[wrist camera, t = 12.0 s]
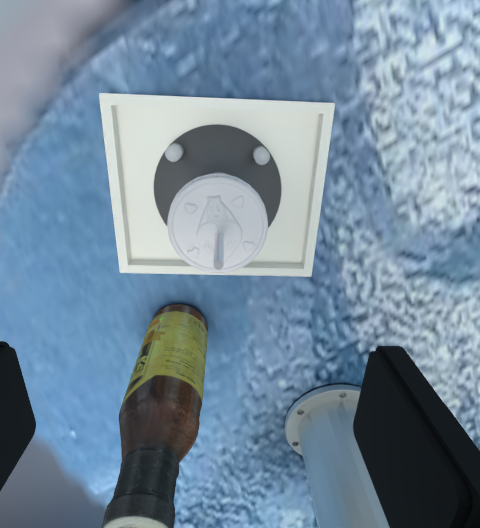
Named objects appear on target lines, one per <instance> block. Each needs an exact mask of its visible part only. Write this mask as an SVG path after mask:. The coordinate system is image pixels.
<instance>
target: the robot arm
mask: <svg viewBox="0 0 480 528" xmlns="http://www.w3.org/2000/svg"><path fill="white" fill-rule="evenodd" d="M35 428H36V421H35V418H34V414H33V411H32V407H31V404H30V400H29V397H28V393H27V390H26V386H25V383H24V379H23V376H22V372H21V369H20V365H19V361H18V358H17V354H16V351H15V349H14V348H12V347H10V346H9V344H8V343H6V342H3V341H0V491H1V489H2V487H3V486H4V484H5V482H6V481H7V479H8V477H9V476H10V474H11V472H12V471H13V469H14V467H15V466H16V464H17V462H18V461H19V459H20V457H21V456H22V454H23V452H24V451H25V449H26V447H27V445H28V444H29V442H30V441H31V439H32V437H33V435H34V432H35ZM285 434H286V438H287V441H288V443H289V445H290V446H291V447H292V449H293V450H295V451H296V452H297V453H298V454H300V455H302V456H303V459H304V464H305V469H306V473H307V478H308V483H309V487H310V492H311V497H312V501H313V506H314V511H315V515H316V520H317V524H318V528H480V451H479V449H478V448H477V447H476V445H475V444H474V443H473V441H472V440H471V439H470V437H469V436H468V435H467V433H466V432H465V430H464V429H463V428H462V426H461V425H460V424H459V422H458V421H457V420H456V418H455V417H454V415H453V414H452V413H451V411H450V410H449V409H448V407H447V406H446V405H445V404H444V403H443V402H442V400H441V399H440V397H439V396H438V395H437V393H436V392H435V391H434V389H433V388H432V387H431V385H430V384H429V382H428V381H427V380H426V378H425V377H424V376H423V374H422V373H421V372H420V370H419V369H418V367H417V366H416V365H415V363H414V362H413V361H412V359H411V358H410V357H409V355H408V354H407V352H406V351H405V350H404V349H403V348H402V347H400V346H378V347H377V348H376V351H372V352H371V353H370V355H369V358H368V362H367V367H366V371H365V375H364V379H363V383H362V388H360V387H357V386H352V385H340V384H339V385H329V386H325V387H321V388H318V389H316V390H313V391H311V392H309V393H307V394H306V395H304V396H302V397H301V398H300V399H299V400H297V401H296V402H295V403H294V404H293V406H292V407H291V408H290V410H289V411H288V413H287V415H286V419H285Z"/></svg>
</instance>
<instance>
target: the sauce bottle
mask: <svg viewBox="0 0 480 528" xmlns="http://www.w3.org/2000/svg"><path fill="white" fill-rule="evenodd" d="M206 348H207V325H206V321H205V320H204V318H203V317H202V315H201V314H200V313H199V312H198V311H197V310H196V309H194V308H192V307H191V306H187V305H184V304H182V305H181V304H173V305H168V306H166V307H164V308H162V309H160V310H159V311H158V312H157V314H156V315H155V316H154V318H153V320H152V321H151V323H150V324H149V326H148V329H147V332H146V335H145V338H144V341H143V344H142V347H141V350H140V353H139V356H138V358H137V361H136V364H135V367H134V370H133V373H132V376H131V379H130V382H129V385H128V388H127V391H126V394H125V397H124V400H123V403H122V406H121V409H120V413H119V424H120V435H121V448H122V463H121V469H120V474H119V478H118V482H117V485H116V488H115V492H114V496H113V499H112V500H111V502H110V503H109V504H108V506H107V509H106V512H105V516H104V521H103V524H102V528H173V527H174V519H175V507H174V503H173V502H174V494H175V486H176V478H177V477H178V474H179V462H180V461H181V460H182V459H183V458H184V457H185V455H186V454H187V453H188V452H189V450H190V449H191V448H192V446H193V444H194V442H195V440H196V437H197V435H198V430H199V416H200V410H201V406H202V399H203V386H204V374H205V362H206Z"/></svg>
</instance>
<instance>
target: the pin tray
mask: <svg viewBox="0 0 480 528" xmlns="http://www.w3.org/2000/svg"><path fill="white" fill-rule="evenodd" d="M99 99H100V108H101V116H102V125H103V133H104V141H105V150H106V158H107V167H108V175H109V184H110V192H111V201H112V209H113V218H114V226H115V235H116V243H117V252H118V260H119V269H120V273H154V274H204V275H254V276H304V277H311V275H312V268H313V261H314V254H315V246H316V239H317V232H318V225H319V218H320V210H321V203H322V196H323V189H324V181H325V174H326V167H327V160H328V152H329V145H330V138H331V131H332V123H333V116H334V109H335V103H321V102H298V101H274V100H251V99H228V98H205V97H181V96H158V95H135V94H112V93H99ZM216 172H222V173H226V174H228V175H231V176H234V177H238V178H239V179H241V180H243V181H244V182H246V183H248V184H249V185H250V186H251V187H252V188H253V189H254V190H255V191H256V192H257V193H258V194H259V196H260V198H261V200H262V201H263V203H264V205H265V209H266V214H267V219H268V232H267V237H266V241H265V243H264V245H263V247H262V249H261V251H260V252H259V254H258V255H257V256H256V257H255V258H254V259H253V260H252V261H251V262H250V263H248V264H247V265H245V266H244V267H242V268H240V269H238V270H235V271H231V272H227V273H210V272H205V271H201V270H199V269H196V268H194V267H192V266H191V265H189V264H188V263H186V262H185V261H184V260H183V259H182V258H181V257H180V256H179V255H178V254H177V252H176V251H175V249H174V248H173V246H172V244H171V241H170V239H169V235H168V229H167V220H168V214H169V210H170V206H171V203H172V202H173V200H174V198H175V196H176V194H177V193H178V192H179V191H180V190H181V189H182V187H183V186H184V185H185V184H187V183H188V182H190V181H192V180H194V179H195V178H197V177H200V176H204V175H208V174H212V173H216Z"/></svg>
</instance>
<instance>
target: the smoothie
mask: <svg viewBox="0 0 480 528" xmlns="http://www.w3.org/2000/svg"><path fill="white" fill-rule="evenodd" d="M167 229H168V235H169V239H170V241H171V244H172V246H173V248H174V249H175V251H176V252H177V254H178V255H179V256H180V257H181V258H182V259H183V260H184V261H185V262H186V263H188V264H189V265H191V266H192V267H194V268H196V269H199V270H201V271H205V272H210V273H227V272H231V271H235V270H238V269H240V268H242V267H244V266H245V265H247V264H248V263H250V262H251V261H252V260H253V259H254V258H255V257H256V256H257V255H258V254H259V252H260V251H261V249H262V247H263V245H264V243H265V241H266V237H267V232H268V219H267V214H266V209H265V205H264V203H263V201H262V200H261V198H260V196H259V194H258V193H257V192H256V191H255V190H254V189H253V188H252V187H251V186H250V185H249V184H248V183H246V182H244V181H243V180H241V179H239V178H238V177H234V176H231V175H228V174H226V173H222V172H216V173H212V174H208V175H204V176H200V177H197V178H195V179H194V180H192V181H190V182H188V183H187V184H185V185H184V186H183V187H182V189H181V190H180V191H179V192H178V193H177V194H176V196H175V198H174V200H173V202H172V203H171V206H170V210H169V214H168V220H167Z"/></svg>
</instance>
